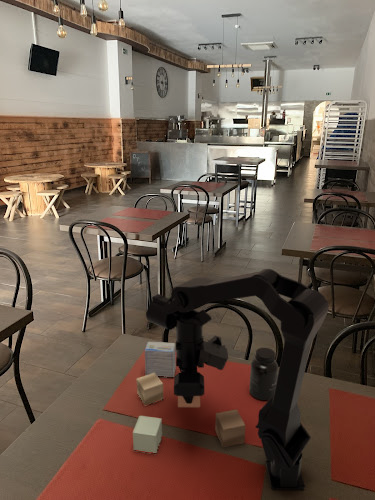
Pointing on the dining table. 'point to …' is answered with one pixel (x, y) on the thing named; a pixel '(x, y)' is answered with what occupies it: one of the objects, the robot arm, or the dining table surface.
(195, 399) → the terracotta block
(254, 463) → the dining table surface
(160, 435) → the sage painted block
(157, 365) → the medicine box
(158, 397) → the maple block
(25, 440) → the dining table surface
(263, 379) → the supplement bottle
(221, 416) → the walnut block
